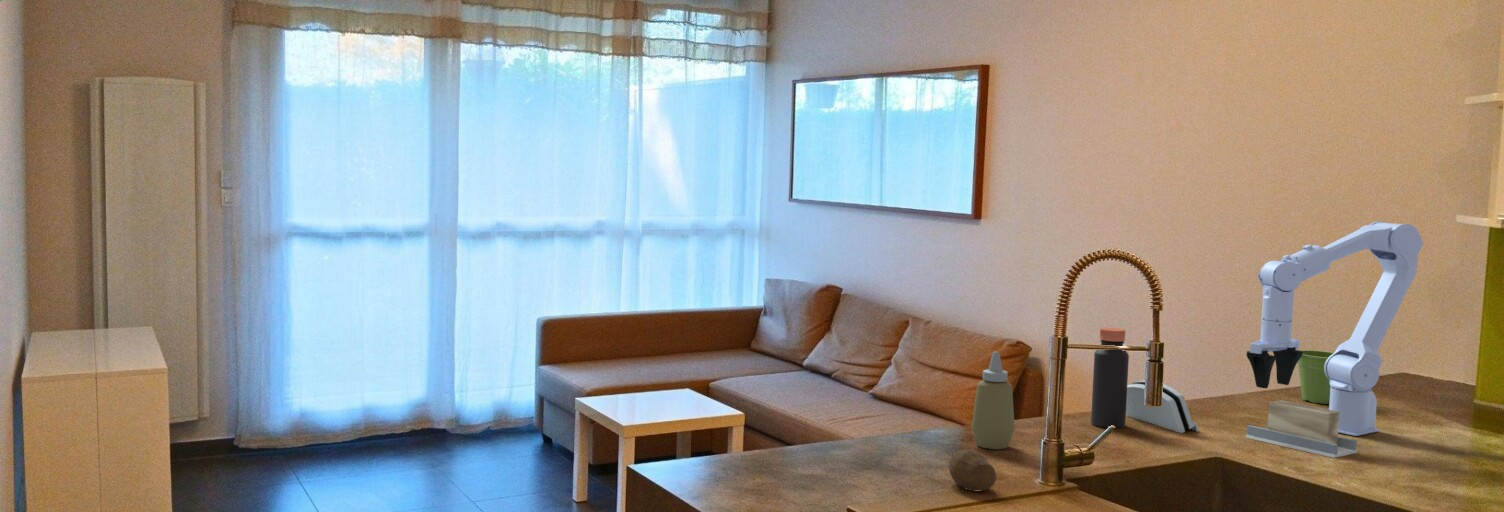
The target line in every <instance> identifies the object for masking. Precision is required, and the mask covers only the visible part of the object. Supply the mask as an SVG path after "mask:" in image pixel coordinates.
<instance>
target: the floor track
mask: <svg viewBox="0 0 1504 512" xmlns="http://www.w3.org/2000/svg"><path fill="white" fill-rule="evenodd" d="M1245 438H1247V439H1250V440H1255V441H1258V442H1264V443H1269V444H1272V445H1276V446H1280V447H1285V448H1290V449H1294V450H1298V451H1302V452H1306V453H1311V454H1314V455H1321V456H1325V457H1328V458H1333V459H1335V458H1340V457H1345V456H1349V455H1353V454H1357V453H1358V449H1357V445H1358V440H1357V439H1353V438H1348V437H1343V436H1338V443H1337V444H1332V443H1328V442H1323V441H1319V440H1314V439H1310V438H1305V437H1301V436H1296V435H1291V434H1287V433H1282V432H1278V431H1273V430H1269V429H1268V421H1266V427H1259V426H1254V425H1247V426H1246V434H1245Z"/></svg>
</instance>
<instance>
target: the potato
mask: <svg viewBox="0 0 1504 512" xmlns="http://www.w3.org/2000/svg"><path fill="white" fill-rule="evenodd" d="M948 462H949V463H948V467H949V468H948V470H949V474H950V476H951V479H952V480H954V483H956V484H957V485H958V486H960V487H961V488H963V487H964V489H965V488H967V489H971V490H984V491H986V490H989V489H990V488H991V487H993V486H994V485H995V483H996V481H997V474H996V470H995V468H994V467H993V465H992V464H990V462H989V461H988V460H987V458H986V456H985V455H984V454H983V453H981V452H979V451H978V450H974V449H961V450H958V451H956V452H955V453H954V454H953V455H952V456H951V458H950V460H949V461H948ZM967 489H966V490H967Z"/></svg>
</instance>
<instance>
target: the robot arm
mask: <svg viewBox="0 0 1504 512" xmlns="http://www.w3.org/2000/svg"><path fill="white" fill-rule="evenodd" d="M1423 245H1424V241H1423V239H1422V237H1421V234H1420V232H1419V230H1418V228H1417V227H1416V226H1414V225H1412V224H1409V223H1393V222H1391V223H1390V222H1383V221H1374V222H1372V223H1370V224H1367V225H1363V226H1361V227H1360V228H1359V229H1357V230H1355V231H1354V232H1351V233H1349V234H1347V235H1345V236H1343V237H1341V238H1339V239H1337V240H1335V241H1333V242H1331V243H1330V244H1327V245H1326V246H1323V247H1322V246H1320V245H1317V244H1314V245H1312V244H1305V245H1303V246H1302V250H1300V251H1296V252H1295V253H1292V254H1285V255H1283V256H1282V257H1281V258H1282V259H1281V260H1270V261H1267V262H1266V263H1264V264H1263V266H1262V267H1261V270H1260V272H1258V273H1257V279H1258V282H1259V284H1260V285H1261V287H1262V305H1261V320H1260V322H1261V323H1260V338H1259V340H1257V341H1254V342H1250V348H1249V351H1246V358H1247V359H1248V361H1249V363H1250V366H1251V369H1252V372H1253V376H1254V381H1255V385H1256V386H1255V387H1257V388H1259V389H1260V388H1261V389H1268V388H1269V384H1270V380H1271V374H1272V370H1273V367H1274V364H1275V367H1276V368H1275V369H1276V382H1277V384H1279V385H1285V386H1289V385H1290V381H1291V379H1292V376H1293V374H1294V373H1293V372H1294V370H1295V368H1296V367H1297V365H1298V360H1299V359H1300V358H1301V356H1302V353H1303V352H1302V351H1299V349H1300V339H1298V338H1292V329H1293V316H1294V315H1293V314H1294V313H1293V312H1294V310H1293V309H1294V301H1295V300H1294V298H1295V297H1294V296H1295V290H1297V288H1299V286H1300V285H1301V283H1302V282H1304V281H1306V280H1309V279H1311V278H1313V277H1316V276H1318V275H1320V274H1322V273H1325V272H1327V271H1328V270H1329V269H1330V266H1331V264H1332V263H1333V262H1335V261H1338V260H1341V259H1343V258H1346V257H1347V256H1351V255H1354V254H1357V253H1358V252H1362V251H1364V250H1369V252H1371V254H1372V255H1373V256H1374V257H1375V258H1376V260H1377V261H1378V263H1380V265H1381V268H1382V270H1383V273H1382V274H1381V277H1380V278H1379V280H1378V282H1377V284H1376V287H1375V288H1374V290H1373V291H1372V294H1371V297H1370V298H1369V300H1368V303H1367V304H1366V306H1365V309H1363V312H1362V314H1361V316H1360V318H1359V320H1358V322H1357V325H1356V326H1355V328H1354V330H1353V332H1352V334H1351V336H1350V338H1349V339H1347V340H1345V341H1344V342H1341V343H1340V344H1339V345H1338V346H1337V348H1336V350H1335V351H1334V353H1333V354H1332V355H1331V356H1330V357H1329V358H1328V359H1327V360H1326V362H1325V365H1324V371H1325V375H1326V376H1327V378H1328V379H1329V380H1330V383H1329V384H1330V385H1331V388H1330V402H1329V404H1328V405H1329V406H1328V410H1333V411H1338V412H1340V413H1339V428H1338V434H1343V435H1348V436H1349V435H1350V436H1354V437H1356V436H1357V437H1358V436H1363V435H1368V434H1372V433H1376V432H1377V433H1378V432H1380V428H1376V421H1377V419H1376V418H1377V407H1378V401H1377V396H1376V395H1375V393H1374V392H1373V391H1372V388H1373V387H1374V386H1376V384H1377V383H1378V380H1379V378H1380V377H1379V376H1380V368H1381V365H1382V363H1383V359H1382V357H1381V355H1380V353H1379V349H1380V347H1381V345H1382V343H1383V341H1384V338H1385V337H1386V334H1387V333H1388V330H1389V329H1390V327H1391V324H1392V322H1393V320H1394V319H1395V316H1396V315H1397V312H1398V311H1399V308H1400V307H1401V304H1402V303H1403V301H1404V299H1405V297H1406V295H1407V292H1408V291H1409V289H1410V287H1411V284H1412V283H1413V281H1414V279H1415V277H1416V275H1417V272H1418V271H1417V270H1418V259H1419V253H1420V251H1421V249H1422V247H1423ZM1269 352H1270V353H1271V352H1272V354H1273V355H1271V354H1270V353H1269Z"/></svg>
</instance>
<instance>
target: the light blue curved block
mask: <svg viewBox="0 0 1504 512" xmlns="http://www.w3.org/2000/svg"><path fill="white" fill-rule="evenodd" d="M1145 380H1146V379H1145ZM1145 380H1139V381H1135V382H1132V383H1130V384H1127V400H1126V417H1130V418H1133V419H1134V420H1135V419H1136V420H1138V419H1140V420H1139V421H1141V420H1143V421H1142V422H1145V421H1146V422H1145V423H1148V422H1149V423H1148V424H1151V423H1152V424H1151V425H1154V424H1156V425H1155V426H1157V425H1158V427H1160V426H1162V427H1161V428H1163V427H1165V428H1164V429H1166V428H1167V429H1166V430H1169V429H1170V431H1172V430H1173V431H1172V432H1176V433H1179V432H1180V434H1181V433H1185V432H1186V429H1189V430H1191V429H1192V431H1194V430H1195V431H1194V432H1199V431H1200V430H1199V427H1198V423H1197V422H1196V421H1193V420H1192V417H1191V413H1190V411H1189V408H1188V405H1187V402H1186V399H1185V397H1184V395H1183V394H1182V393H1180V392H1179V391H1177V390H1176V389H1174V388H1173V387H1170V386H1169V385H1166V384H1165V383H1162V384H1163V392H1162V406H1161V407H1146V406H1145V405H1144V388H1145Z"/></svg>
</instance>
